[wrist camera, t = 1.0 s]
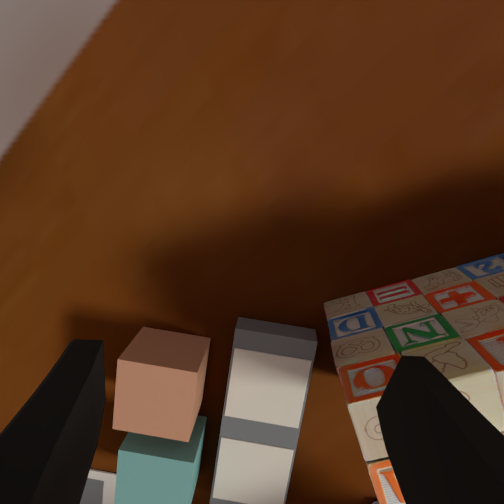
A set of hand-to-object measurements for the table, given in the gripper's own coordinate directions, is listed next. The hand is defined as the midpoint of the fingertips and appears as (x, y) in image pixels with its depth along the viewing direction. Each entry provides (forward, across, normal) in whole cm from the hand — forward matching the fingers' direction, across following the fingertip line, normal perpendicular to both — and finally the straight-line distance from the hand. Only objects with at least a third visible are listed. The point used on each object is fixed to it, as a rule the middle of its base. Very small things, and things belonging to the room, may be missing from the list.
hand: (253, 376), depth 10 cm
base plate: (+13, -5, +19) cm, 24 cm away
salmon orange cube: (+15, +2, +17) cm, 23 cm away
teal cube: (+13, +2, +23) cm, 26 cm away
